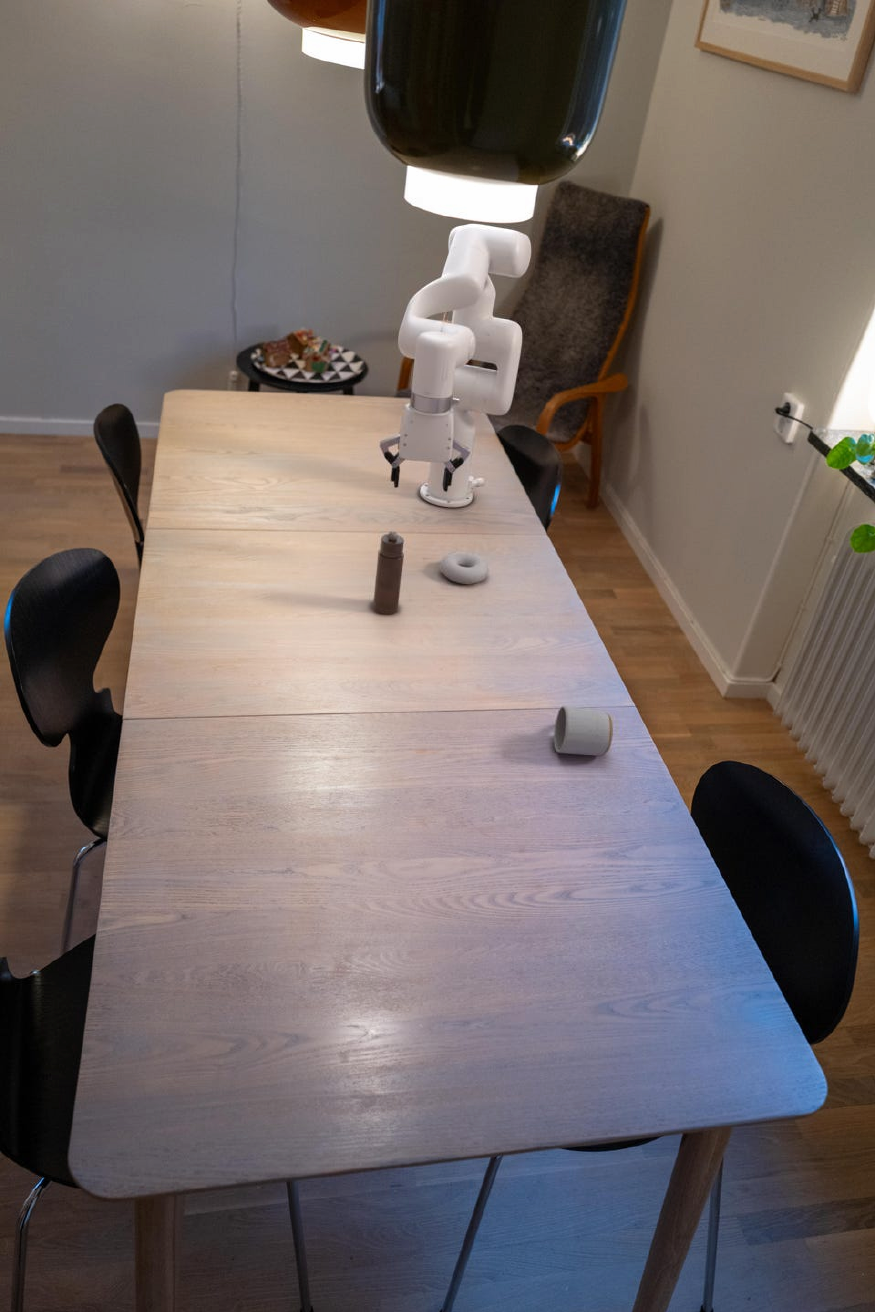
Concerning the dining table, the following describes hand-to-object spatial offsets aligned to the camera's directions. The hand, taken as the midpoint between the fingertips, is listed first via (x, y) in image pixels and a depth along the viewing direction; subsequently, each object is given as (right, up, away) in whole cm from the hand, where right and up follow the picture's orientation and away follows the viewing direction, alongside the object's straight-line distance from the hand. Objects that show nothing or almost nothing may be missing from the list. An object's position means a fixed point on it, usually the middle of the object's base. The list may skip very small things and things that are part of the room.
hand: (420, 486), depth 195 cm
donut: (+9, -16, +13) cm, 23 cm away
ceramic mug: (+26, -48, -30) cm, 62 cm away
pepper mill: (-7, -24, -2) cm, 25 cm away
